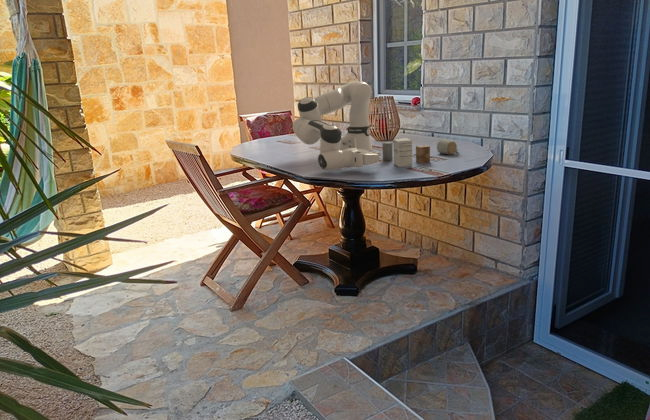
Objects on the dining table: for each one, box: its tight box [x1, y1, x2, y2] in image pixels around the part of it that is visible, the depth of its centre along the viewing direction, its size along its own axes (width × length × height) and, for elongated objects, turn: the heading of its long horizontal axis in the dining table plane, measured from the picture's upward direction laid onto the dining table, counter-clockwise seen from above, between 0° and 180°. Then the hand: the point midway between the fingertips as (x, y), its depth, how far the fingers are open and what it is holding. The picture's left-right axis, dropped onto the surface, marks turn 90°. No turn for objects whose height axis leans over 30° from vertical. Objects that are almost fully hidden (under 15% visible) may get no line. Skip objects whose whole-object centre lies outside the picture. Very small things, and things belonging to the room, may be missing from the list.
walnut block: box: [415, 144, 431, 164], centre depth 249 cm, size 5×5×8 cm
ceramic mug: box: [436, 138, 459, 155], centre depth 266 cm, size 11×8×8 cm
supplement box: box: [393, 137, 413, 168], centre depth 245 cm, size 7×7×13 cm
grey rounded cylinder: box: [382, 141, 394, 162], centre depth 259 cm, size 5×5×9 cm
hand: (379, 153), depth 241 cm, fingers closed
